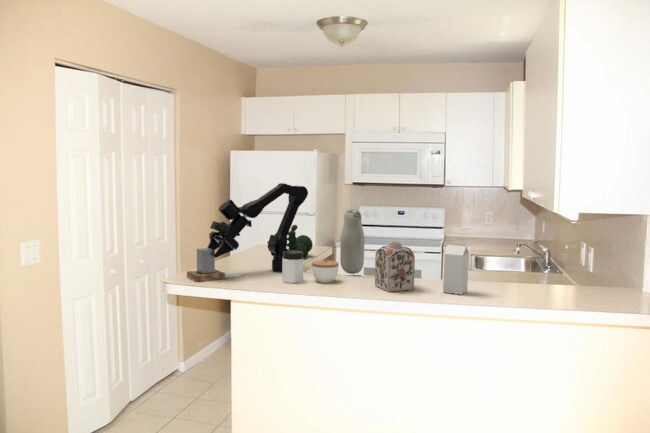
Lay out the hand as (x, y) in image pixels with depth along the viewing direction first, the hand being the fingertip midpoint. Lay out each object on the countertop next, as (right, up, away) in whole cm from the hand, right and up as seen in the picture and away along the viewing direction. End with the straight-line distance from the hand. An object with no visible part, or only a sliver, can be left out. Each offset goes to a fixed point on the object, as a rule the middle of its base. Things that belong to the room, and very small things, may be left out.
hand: (210, 255), depth 239 cm
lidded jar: (+47, -11, -2) cm, 48 cm away
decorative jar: (+74, -12, -13) cm, 76 cm away
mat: (+7, -9, +6) cm, 13 cm away
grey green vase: (+59, -9, +16) cm, 62 cm away
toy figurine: (+34, -5, +51) cm, 62 cm away
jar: (+34, -10, -3) cm, 36 cm away
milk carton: (+97, -13, -18) cm, 99 cm away
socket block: (-2, -9, 0) cm, 10 cm away
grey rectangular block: (-2, -9, 0) cm, 10 cm away
